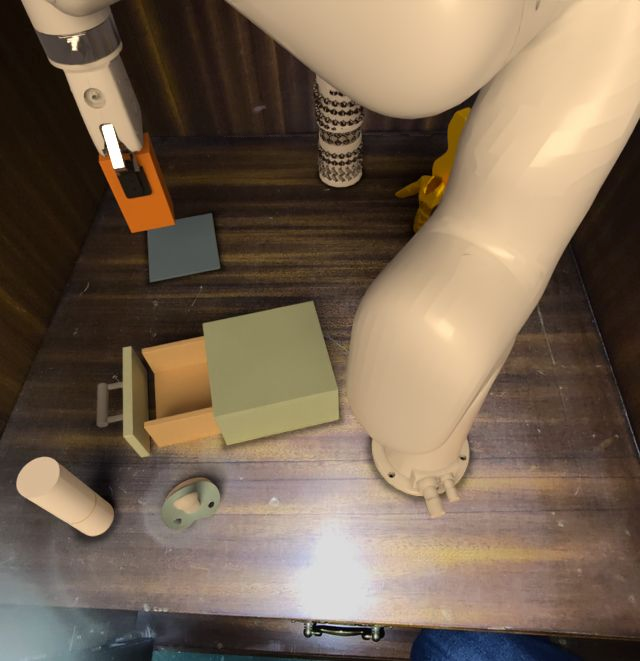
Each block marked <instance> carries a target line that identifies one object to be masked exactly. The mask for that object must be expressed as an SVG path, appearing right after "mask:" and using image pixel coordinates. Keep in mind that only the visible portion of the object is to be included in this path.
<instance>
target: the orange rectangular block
mask: <svg viewBox="0 0 640 661" xmlns="http://www.w3.org/2000/svg"><path fill="white" fill-rule="evenodd" d="M122 145H124V144H123V143H120V146H122ZM135 154H136V157H137V160H138V163H139V166H142V167H143V169H144V172H145V175H146V177H147V180H148V182H149V185H150V188H151V191H152V193H151V195H148V196H142V197H137V198H131V199H128V198H126V196H125V194H124V191H123V189H122V187H121V184H120V182H119V180H118V178H117V175H116V173H115V171H114V168H113V165H112V162H111V159H110V157H109V154H108V155H107V157H104V156H102V155H101V154H100V153H99V152H98V163H99V165H100V167H101V170H102V172H103V174H104V176H105V178H106V181H107V183H108V185H109V187H110V190H111V191H112V194H113V196H114V198H115V201H116V202H117V204H118V207H119V209H120V211H121V213H122V216H123V217H124V220H125V222H126V224H127V226H128V228H129V230H130V233H131V234H134V233H139V232H144V231H147V230H150V229H156V228H161V227H166V226H171V225H175V220H176V218H175V209H174V203H173V200H172V197H171V194H170V192H169V188H168V185H167V183H166V180H165V177H164V174H163V172H162V169H161V166H160V162H159V159H158V158H157V154H156V152H155V149H154V146H153V143H152V139H151V137H150V134H149V132H143V147H142V149H141V151H135ZM123 156H124V159H125V160H128V159H129V160H130V161H131V158H130V156H129V153H126V154H123Z"/></svg>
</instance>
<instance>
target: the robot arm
mask: <svg viewBox="0 0 640 661" xmlns="http://www.w3.org/2000/svg"><path fill="white" fill-rule="evenodd" d="M20 1H21V3H22V6H23V8H24V10H25V12H26V15H27V16H28V18H29V20H30V23H31V24H32V27H33V29H34V32H35V34H36V36H37V38H38V40H39V43H40V45H41V47H42V48H43V51H44V53H45V55H46V57H47V59H48V61H49V63H50V65H52V66H53V67H55V68H57V69H60V70H62V71H63V73H64V76H65V77H66V81H67V83H68V86H69V89H70V92H71V93H72V96H73V98H74V100H75V103H76V106H77V108H78V110H79V113H80V116H81V118H82V120H83V123H84V125H85V127H86V129H87V131H88V134H89V136H90V138H91V140H92V142H93V145H94V146H95V148H96V150H97V152H98V154H99V153H100V154H101V155H102V156H104V157H107V155H108V154H109V157H110V159H111V162H112V165H113V168H114V171H115V173H116V175H117V178H118V180H119V182H120V184H121V187H122V189H123V191H124V194H125V196H126V198H128V199H131V198H137V197H142V196H148V195H151V193H152V191H151V188H150V185H149V182H148V180H147V177H146V175H145V172H144V169H143V167H142V166H139V163H138V160H137V157H136V154H135V151H141V149H142V147H143V133H144V132H143V131H144V130H143V119H142V118H143V116H142V109H141V106H140V104H139V101H138V99H137V98H138V97H137V95H136V92H135V91H134V88H133V86H132V83H131V81H130V78H129V76H128V73H127V70H126V67H125V65H124V62H123V60H122V57H121V55H120V53H121V52H122V50H123V47H124V46H123V41H122V39H121V36H120V32H119V30H118V27H117V24H116V21H115V18H114V15H113V12H112V9H111V7H110V6H112V5H114V4H116V3H118V2H120V1H121V0H20ZM224 2H226V3H227V4H228V5H229V6H230V7H232V9H234V10H236V11H237V12H238V13H239V14H241V15H242V16H243V17H245V18H246V19H247V20H248V21H250V22H251V23H252V24H254V25H255V26H256V27H257V28H258V29H260V30H261V31H262V32H263V33H265V34H266V35H267V36H268V37H270V38H271V39H272V40H274V41H275V43H277V44H278V45H280V46H281V47H282V48H283V49H285V50H286V51H287V52H288V53H290V55H292V56H293V57H294V58H295V59H297V60H298V61H299V62H301V63H302V64H303V65H304V66H306V67H307V68H308V69H309V70H310V71H311V72H313V73H314V74H315V75H316V74H317V75H318V76H319V77H320V78H322V79H323V80H324V81H325V82H327V83H328V84H329V85H331V86H332V87H333V88H335V89H336V90H337V91H339V92H340V93H342V94H343V95H345V96H347V97H348V98H350V99H351V100H353V101H354V102H356V103H357V104H359V105H361V106H363V107H364V109H365V108H366V109H367V110H369V111H372V112H374V113H377V114H378V115H382V116H385V117H388V118H395V119H402V120H416V119H423V118H430V117H434V116H438V115H440V114H442V113H444V112H446V111H448V110H450V109H453V108H455V107H457V106H459V105H461V104H462V103H463V102H465V101H466V100H468V99H469V98H470V97H472V96H473V95H474V94H476V93H477V92H478V93H477V96H476V98H475V100H474V102H473V105H472V107H471V108H470V109H471V111H470V113H469V115H468V118H467V120H466V122H465V125H464V127H463V130H462V133H461V135H460V138H459V142H458V146H457V150H456V154H455V159H454V163H453V166H452V169H451V173H450V176H449V179H448V182H447V185H446V188H445V190H444V193H443V195H442V198H441V200H440V202H439V204H438V206H437V208H436V210H435V211H434V213H433V214H432V216H431V217H430V218H429V219H428V220H427V222H426V223H425V224H424V225H423V226H422V227H421V228H420V229H419V231H418V232H417V233H414V235H413V236H412V237H411V238H410V240H409V241H408V242H407V243H406V244H405V245H404V246H403V247H402V248H401V249H400V250H399V251H398V252H397V253H396V255H395V256H394V257H393V258H392V259H391V260H390V261H389V262H388V263H387V264H386V266H385V267H384V268H383V269H382V270H381V271H380V272H379V273H378V274H377V276H376V277H375V278H374V279H373V281H372V282H371V283H370V284H369V286H368V287H367V289H366V290H365V292H364V294H363V296H362V298H361V299H360V302H359V303H358V305H357V307H356V311H355V313H354V316H353V320H352V325H351V332H350V341H349V347H348V355H347V365H346V371H345V372H346V373H345V395H346V398H347V403H348V405H349V409H350V410H351V412H352V414H353V416H354V418H355V420H356V421H357V423H358V424H359V426H360V427H361V429H363V431H364V432H365V433H366V434H367V435H368V436H369V437H370V438H371V454H372V455H371V456H372V459H373V462H374V464H375V467H376V469H377V471H378V472H379V474H380V475H381V476H382V478H383V479H384V480H385V481H386V482H387V484H389V485H391V486H392V487H394V488H395V489H396V490H398V491H400V492H403V493H405V494H408V495H412V496H415V497H416V496H417V497H423V498H424V501H425V506H426V509H427V512H428V516H429V517H430V518H431V519H434V518H439V517H441V516H444V515H445V514H446V513H447V512H446V509H445V507H444V503H443V501H442V497H440V495H441V494H443V493H445V494H446V497H447V500H448V502H449V503H455V502H457V501H459V500H461V497H460V495H459V492H458V489H457V487H456V485H457V484H458V483H459V482H460V481H461V479H462V478H463V476H464V475H465V472H466V470H467V468H468V466H469V462H470V451H471V450H470V444H469V441H468V435H469V433H470V431H471V429H472V426H473V424H474V422H475V420H476V418H477V416H478V415H479V413H480V410H481V408H482V406H483V404H484V402H485V400H486V397H487V396H488V393H489V392H490V390H491V388H492V386H493V384H494V382H495V380H496V379H497V378H498V375H499V373H500V372H501V370H502V368H503V366H504V365H505V363H506V361H507V360H508V357H509V355H510V354H511V352H512V350H513V348H514V345H515V342H516V339H517V335H518V334H519V333H520V331H521V330H522V328H523V327H524V325H525V324H526V322H527V321H528V319H529V318H530V316H531V315H532V313H533V311H534V310H535V308H536V307H537V305H538V304H539V303H540V300H541V298H542V297H543V295H544V293H545V291H546V289H547V286H548V285H549V282H550V280H551V278H552V275H553V273H554V271H555V269H556V267H557V265H558V263H559V261H560V260H561V257H562V256H563V253H564V252H565V250H566V248H567V246H568V244H569V243H570V242H571V240H572V238H573V237H574V235H575V233H576V231H577V230H578V228H579V226H580V225H581V223H582V222H583V220H584V218H585V217H586V215H587V214H588V212H589V210H590V208H591V206H593V203H594V202H595V199H596V197H598V196H597V195H598V194H599V191H600V190H601V188H602V186H603V185H604V183H605V181H606V179H607V178H608V177H609V174H610V173H611V171H612V169H613V167H614V166H615V165H616V163H617V160H618V159H619V157H620V155H621V153H622V152H623V150H624V148H625V146H626V145H627V143H628V141H629V139H630V138H631V135H632V134H633V132H634V130H635V129H636V128H635V127H636V126H637V124H638V122H639V120H640V0H224ZM120 143H123V144H124V145H122V146H120ZM126 153H129V156H130V158H131V161H130V160H129V159H128V160H125V159H124V156H123V154H126ZM390 476H392V477H390Z"/></svg>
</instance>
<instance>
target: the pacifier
mask: <svg viewBox="0 0 640 661" xmlns="http://www.w3.org/2000/svg"><path fill="white" fill-rule="evenodd" d="M212 502H213V506H212V507H210V506H209V505H210V503H212ZM220 504H221V493H220V490H219V488H218V487H217V486H216V485H215V484H214V483H213V482H212V480H210V479H208V478H205V477H192V478H189V479H186V480H184V481H182V482H181V483H179V484H177V485H176V486H174V488H172V489H171V490H170V492H169V493H167V496H166V498H165V500H164V503H163V505H162V508H161V510H160V519H161V521H162V523H163V524H164V526H166V527H167V528H168V529H170V530H173V531H182V530H185V529H187V528H189V527H190V526H191V525H193V524H194V523H195V521H196V520H198V519H207V518H210V517H211V516H212V515H214V514H215V513H216V512H217V511H218V509H219V507H220ZM179 519H180V520H181V522H180V523H175V522H176V520H179Z"/></svg>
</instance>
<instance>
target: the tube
mask: <svg viewBox="0 0 640 661" xmlns="http://www.w3.org/2000/svg"><path fill="white" fill-rule="evenodd" d="M15 482H16V486H15V487H16V490H17V492H18V493H19V494H20V495H21V496H22V497H24V498H25V499H27V500H28V501H30V502H32V503H34V504H35V505H37V506H38V507H40V508H42V509H43V510H45V511H46V512H48V513H50V514H51V515H52V516H55V518H57V519H59V520H61V521H63V522H64V523H66V524H68V525H70V526H71V527H73V528H74V529H76V530H77V531H79V532H80V533H82V534H84V535H86V536H89V537H97V536H99V535H102V534H104V533H105V532H106V531H107V530H108V529H109V528H110V527H111V525H112V524H113V521H114V518H115V511H114V508H113V506H112V504H111V503H109V502H108V501H107V500H105V498H103V497H101V495H99V494H98V493H97V492H96V491H94V490H93V489H92V488H90V486H88V485H87V484H86V483H85V482H83V481H82V480H80V479H79V478H78V477H76V475H74V474H73V473H72V472H71V471H69V470H68V469H67V468H65V467H64V466H63V465H62V464H61V463H59V462H58V461H57V460H56V459H54V458H52V457H49V456H41V457H36V458H34V459H32V460H30V461H29V462H28V463H26V464H25V465H24V466H23V467H22V468H21V470H20V471H19V473H18V474H17V478H16V481H15Z"/></svg>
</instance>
